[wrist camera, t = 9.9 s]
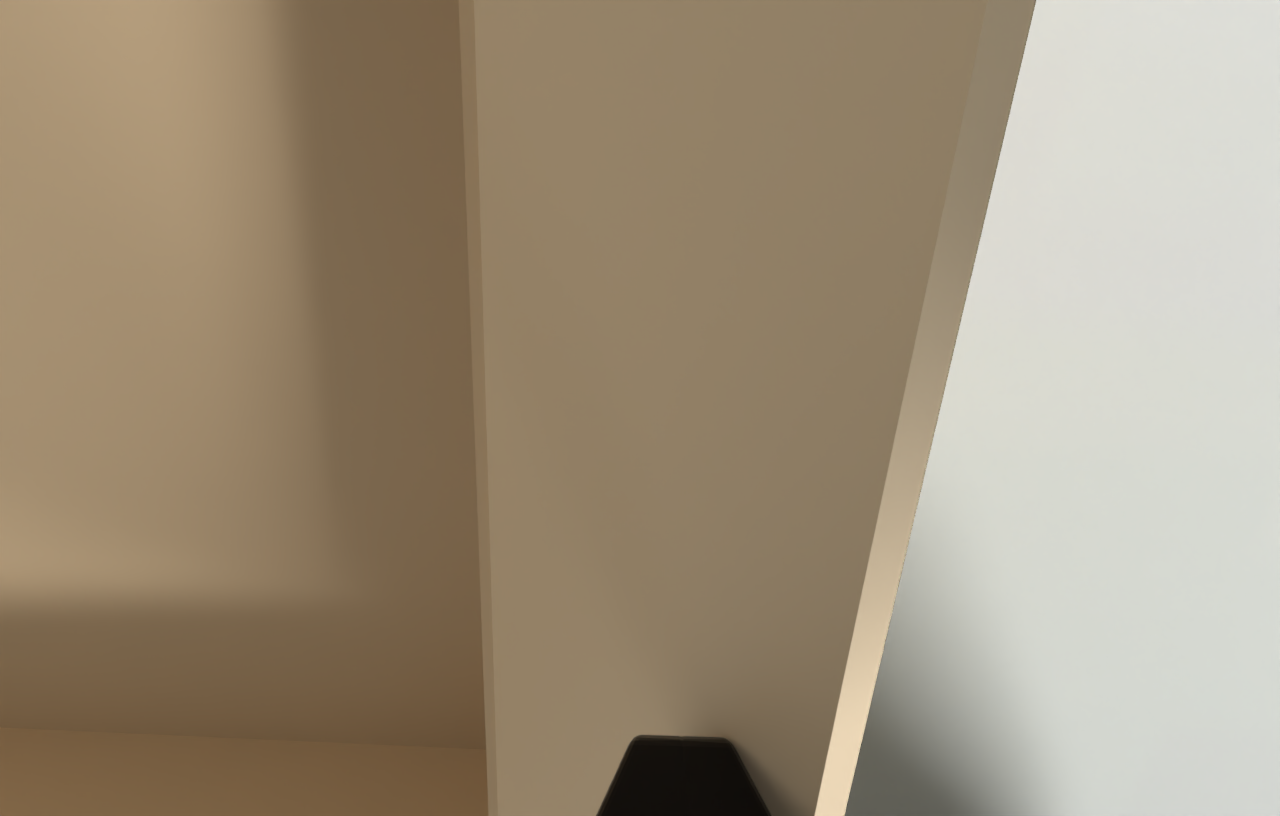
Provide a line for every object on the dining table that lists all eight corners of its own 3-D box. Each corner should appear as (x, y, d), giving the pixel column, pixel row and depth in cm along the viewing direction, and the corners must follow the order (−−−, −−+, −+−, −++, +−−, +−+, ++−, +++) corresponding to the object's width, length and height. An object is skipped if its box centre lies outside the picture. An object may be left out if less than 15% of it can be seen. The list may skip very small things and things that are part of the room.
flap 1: (503, -694, 6) (1237, -870, 4) (523, 978, 16) (726, 1316, 13) (453, -703, 6) (1177, -891, 3) (503, 990, 16) (704, 1334, 13)
